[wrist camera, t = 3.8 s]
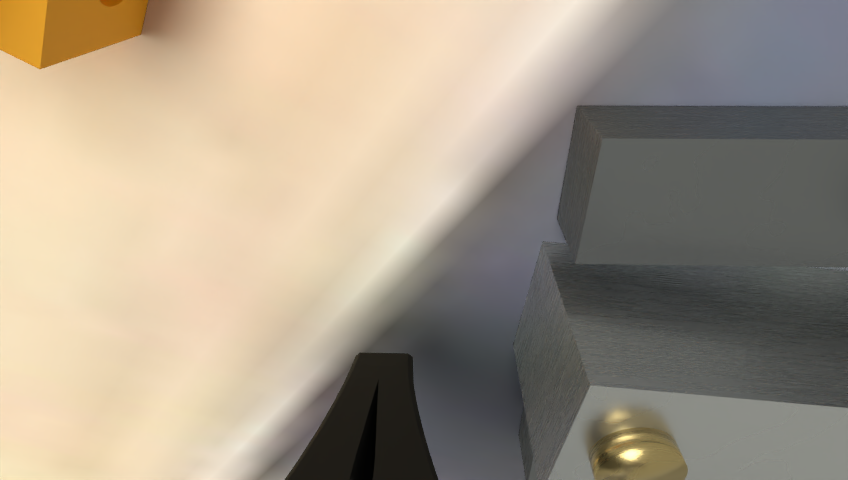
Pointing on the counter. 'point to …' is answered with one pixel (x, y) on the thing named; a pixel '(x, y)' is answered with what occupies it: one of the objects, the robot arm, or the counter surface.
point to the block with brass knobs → (684, 371)
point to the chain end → (705, 190)
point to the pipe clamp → (66, 27)
